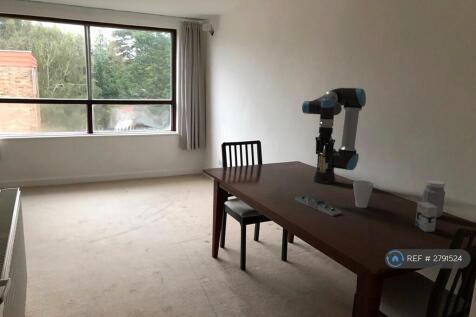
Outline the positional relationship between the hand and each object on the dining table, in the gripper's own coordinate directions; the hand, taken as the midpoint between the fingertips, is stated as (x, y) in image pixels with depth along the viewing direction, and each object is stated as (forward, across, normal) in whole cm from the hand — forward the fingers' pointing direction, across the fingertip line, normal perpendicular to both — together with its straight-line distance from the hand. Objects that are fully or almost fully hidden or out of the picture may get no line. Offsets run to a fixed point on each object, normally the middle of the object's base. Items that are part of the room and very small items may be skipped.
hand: (322, 167), depth 203 cm
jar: (+19, +45, +36) cm, 61 cm away
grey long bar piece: (+20, +7, -10) cm, 23 cm away
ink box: (+20, +54, +15) cm, 59 cm away
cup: (+20, +18, +14) cm, 30 cm away
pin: (+2, 0, 0) cm, 2 cm away
